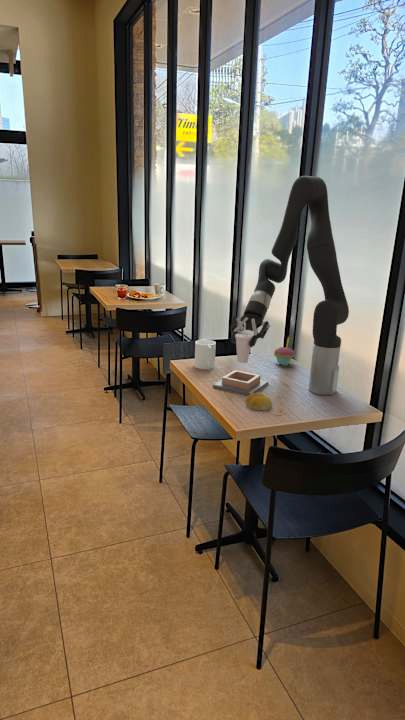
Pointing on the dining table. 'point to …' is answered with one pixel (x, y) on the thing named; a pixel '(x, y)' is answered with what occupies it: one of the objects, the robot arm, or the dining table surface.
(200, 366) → the cup
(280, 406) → the dining table surface
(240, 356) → the smoothie
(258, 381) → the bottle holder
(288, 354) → the cupcake
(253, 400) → the bread roll
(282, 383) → the dining table surface
